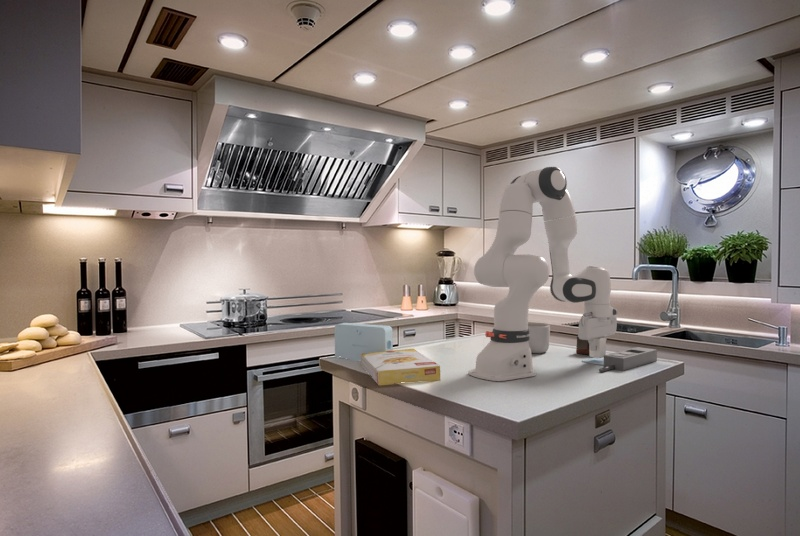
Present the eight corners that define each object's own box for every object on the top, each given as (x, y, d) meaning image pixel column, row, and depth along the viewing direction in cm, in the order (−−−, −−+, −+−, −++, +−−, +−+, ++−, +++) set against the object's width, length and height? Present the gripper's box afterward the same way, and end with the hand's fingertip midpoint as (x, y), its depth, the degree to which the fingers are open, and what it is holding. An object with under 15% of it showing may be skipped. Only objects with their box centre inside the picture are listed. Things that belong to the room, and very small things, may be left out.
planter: (554, 354, 189) (554, 326, 189) (522, 354, 189) (522, 327, 189) (544, 348, 202) (544, 322, 201) (514, 349, 201) (514, 322, 201)
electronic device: (599, 357, 183) (599, 337, 183) (575, 354, 190) (575, 334, 190) (604, 355, 186) (604, 336, 186) (580, 352, 193) (580, 333, 193)
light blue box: (333, 358, 187) (333, 324, 186) (342, 356, 192) (342, 322, 191) (384, 364, 175) (383, 328, 174) (392, 361, 180) (392, 326, 179)
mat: (602, 365, 169) (602, 364, 169) (581, 361, 175) (581, 360, 175) (614, 362, 174) (614, 361, 174) (593, 358, 180) (593, 357, 180)
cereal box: (413, 347, 178) (441, 363, 151) (414, 362, 178) (442, 381, 151) (359, 352, 172) (378, 369, 145) (360, 368, 172) (379, 388, 145)
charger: (599, 358, 172) (599, 337, 172) (589, 356, 175) (589, 336, 175) (605, 356, 175) (605, 336, 174) (595, 355, 178) (595, 335, 178)
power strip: (610, 374, 156) (610, 361, 156) (590, 370, 161) (590, 358, 161) (656, 360, 176) (656, 349, 176) (637, 357, 181) (637, 346, 181)
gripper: (590, 314, 166) (590, 354, 166) (620, 309, 178) (620, 347, 179) (573, 313, 171) (573, 352, 171) (603, 308, 183) (603, 344, 184)
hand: (597, 349), depth 175 cm, fingers closed on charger, 4 cm apart
